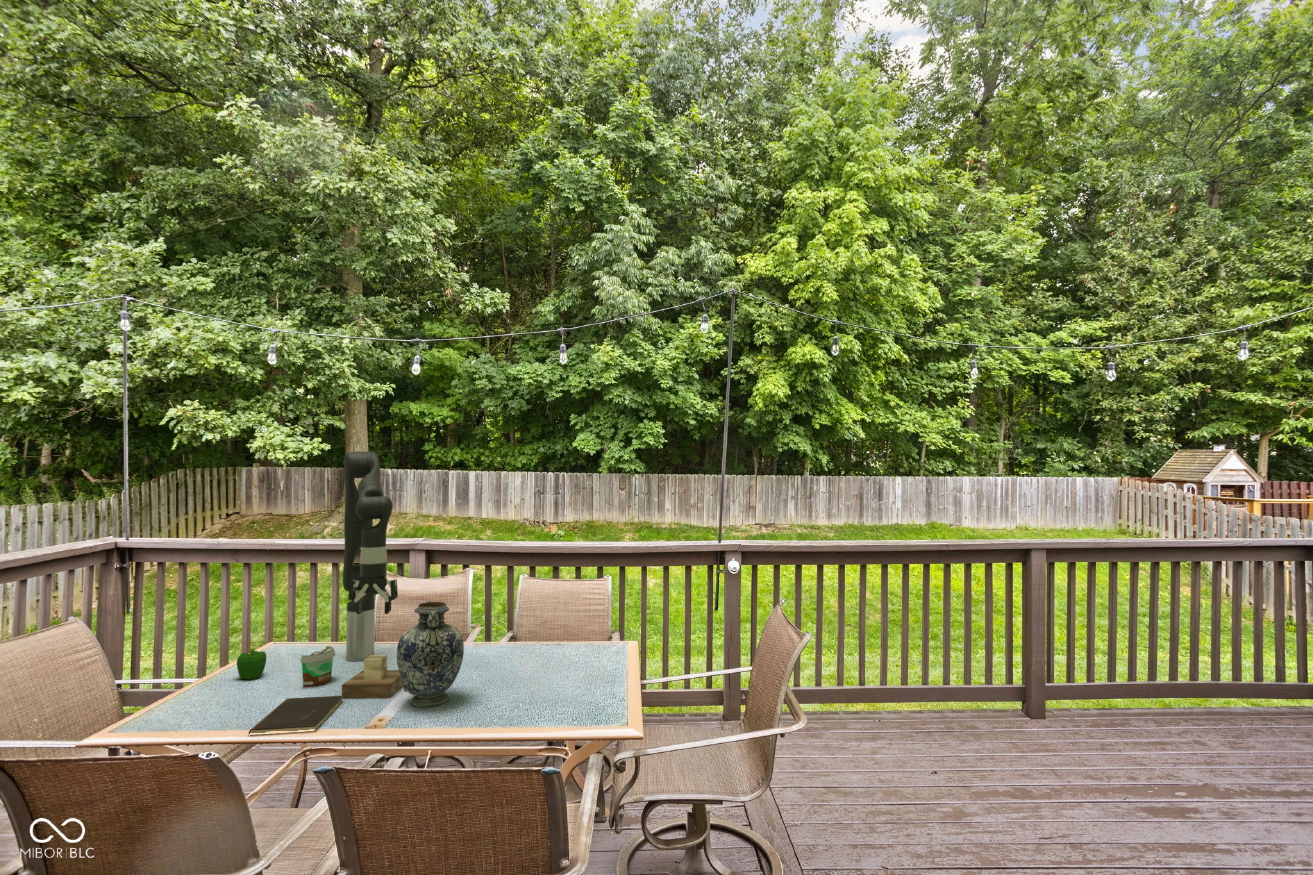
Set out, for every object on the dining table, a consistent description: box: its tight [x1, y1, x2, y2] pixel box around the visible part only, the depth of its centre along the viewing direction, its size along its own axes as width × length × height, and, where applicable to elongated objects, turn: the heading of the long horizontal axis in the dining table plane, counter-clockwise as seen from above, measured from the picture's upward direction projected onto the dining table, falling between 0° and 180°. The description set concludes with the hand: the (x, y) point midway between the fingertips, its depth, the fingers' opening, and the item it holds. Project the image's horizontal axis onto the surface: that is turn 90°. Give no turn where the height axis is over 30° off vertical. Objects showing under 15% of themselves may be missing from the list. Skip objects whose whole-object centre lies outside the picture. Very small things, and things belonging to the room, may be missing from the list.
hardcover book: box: [248, 695, 344, 735], centre depth 183 cm, size 16×23×2 cm
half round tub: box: [300, 645, 336, 688], centre depth 213 cm, size 12×6×10 cm, turn 168°
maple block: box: [363, 654, 388, 680], centre depth 205 cm, size 5×5×6 cm
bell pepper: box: [236, 647, 267, 681], centre depth 218 cm, size 8×8×10 cm
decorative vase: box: [396, 600, 465, 708], centre depth 196 cm, size 21×19×28 cm
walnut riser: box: [341, 669, 403, 700], centre depth 205 cm, size 14×14×4 cm
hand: (372, 613), depth 207 cm, fingers open, 8 cm apart
